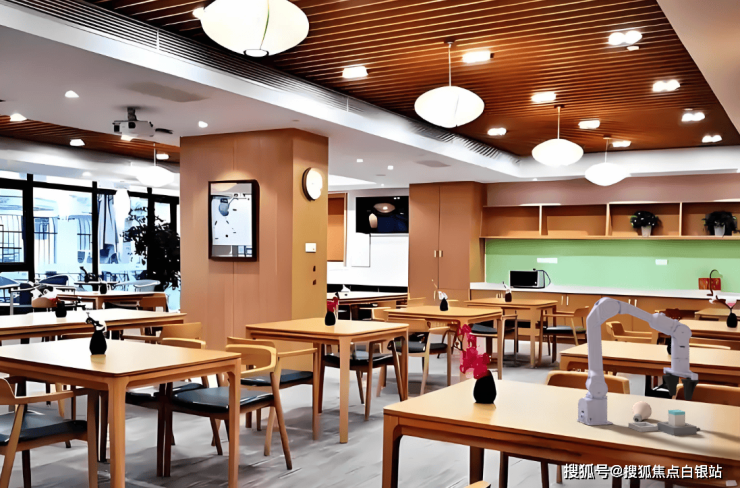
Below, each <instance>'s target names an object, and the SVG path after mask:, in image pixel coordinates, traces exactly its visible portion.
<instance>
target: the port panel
mask: <svg viewBox="0 0 740 488" xmlns="http://www.w3.org/2000/svg"><path fill="white" fill-rule="evenodd" d="M656 426H658V431H659V430H660V431H659V432H663V433H665V434H668V435H670V434H671V436H673V435H675V436H685V435H686V436H687V435H688V436H689V435H697V433H698V432H697V431H701V427H697V425H694V424H690V423H687V422H685V426H672V425H669V424H668V421H659V422H658V421H657V422H656Z"/></svg>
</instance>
